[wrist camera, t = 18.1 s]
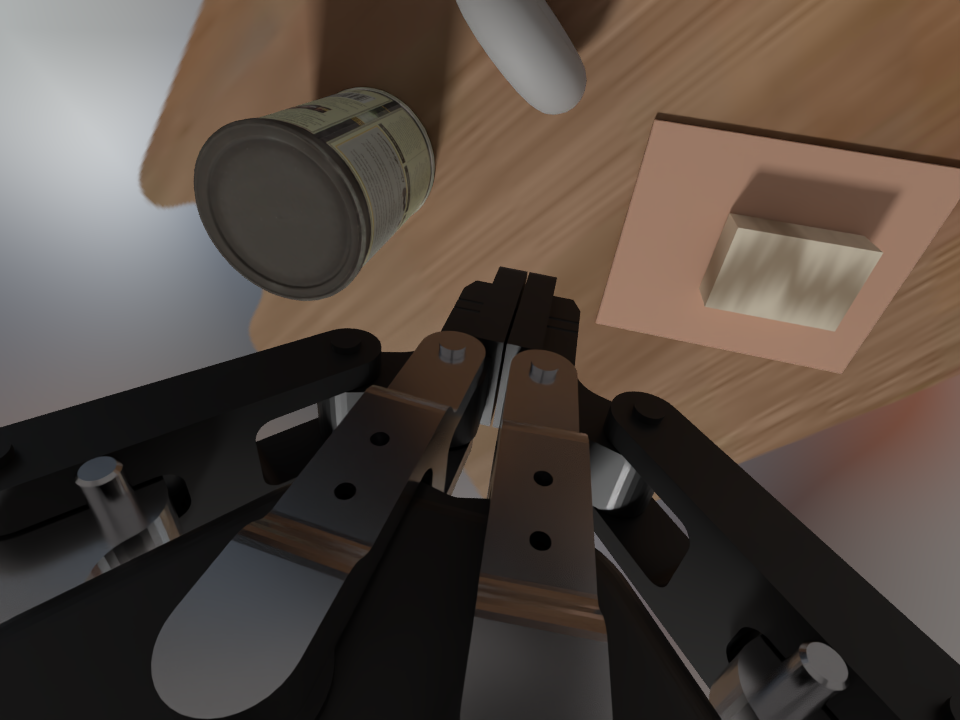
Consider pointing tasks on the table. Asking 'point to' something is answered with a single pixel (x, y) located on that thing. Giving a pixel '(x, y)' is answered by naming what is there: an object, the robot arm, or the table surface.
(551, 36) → the donut
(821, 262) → the beige rectangular block
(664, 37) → the table surface
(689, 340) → the mat
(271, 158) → the coffee can
